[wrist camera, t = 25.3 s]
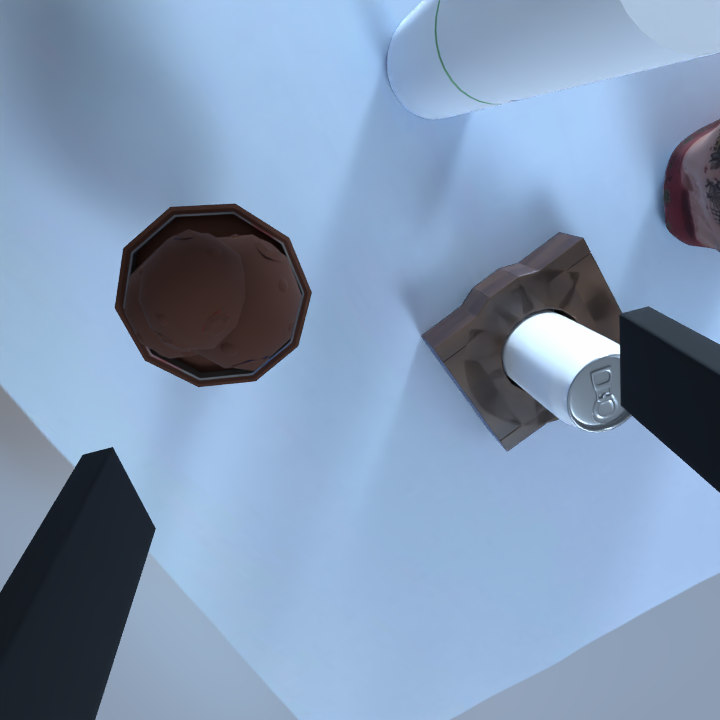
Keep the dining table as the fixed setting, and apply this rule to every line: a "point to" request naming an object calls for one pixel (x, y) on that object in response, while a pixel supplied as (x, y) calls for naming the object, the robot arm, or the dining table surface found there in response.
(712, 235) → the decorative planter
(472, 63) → the cylindrical container
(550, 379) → the can
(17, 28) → the dining table surface
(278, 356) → the ice cream bowl
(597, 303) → the holder
